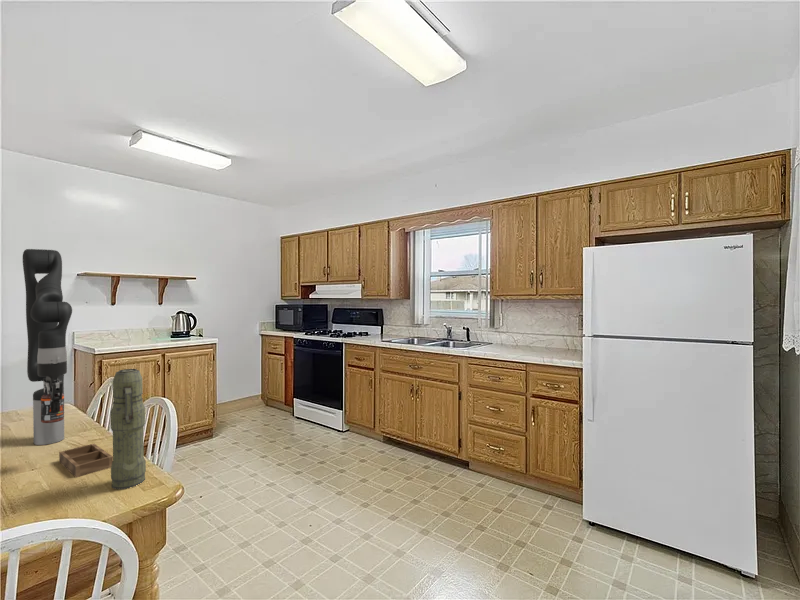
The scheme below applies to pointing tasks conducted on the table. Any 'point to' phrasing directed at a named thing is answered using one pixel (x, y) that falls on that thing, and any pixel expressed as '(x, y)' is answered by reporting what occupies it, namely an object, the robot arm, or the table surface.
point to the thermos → (127, 430)
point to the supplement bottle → (46, 409)
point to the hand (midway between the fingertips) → (52, 410)
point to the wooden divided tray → (85, 460)
